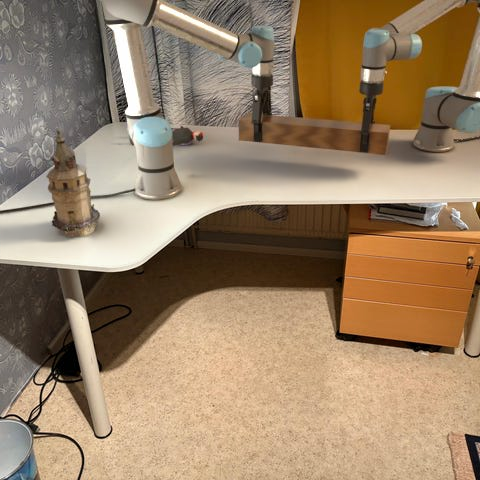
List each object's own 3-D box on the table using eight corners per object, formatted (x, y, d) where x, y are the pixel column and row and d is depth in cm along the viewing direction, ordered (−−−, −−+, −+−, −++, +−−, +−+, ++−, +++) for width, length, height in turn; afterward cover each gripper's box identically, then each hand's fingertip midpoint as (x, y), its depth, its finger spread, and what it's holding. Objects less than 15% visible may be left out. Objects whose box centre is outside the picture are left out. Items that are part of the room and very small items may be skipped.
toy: (143, 119, 231) (210, 119, 225) (145, 133, 234) (211, 133, 228) (119, 138, 209) (193, 139, 203) (122, 153, 212) (195, 154, 206)
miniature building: (80, 214, 164) (63, 117, 149) (111, 225, 157) (96, 125, 142) (44, 231, 154) (22, 130, 140) (75, 244, 147) (55, 139, 133)
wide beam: (238, 140, 194) (238, 119, 191) (246, 133, 202) (246, 112, 198) (385, 155, 180) (388, 133, 176) (387, 146, 187) (390, 125, 183)
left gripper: (263, 81, 175) (262, 147, 186) (281, 68, 192) (279, 129, 203) (241, 80, 177) (242, 145, 188) (261, 67, 195) (260, 127, 206)
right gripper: (380, 89, 164) (373, 159, 175) (386, 74, 182) (379, 138, 193) (356, 88, 166) (350, 157, 177) (364, 73, 184) (358, 136, 195)
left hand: (261, 137), depth 196 cm, fingers closed on wide beam, 9 cm apart
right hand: (365, 147), depth 185 cm, fingers closed on wide beam, 9 cm apart
